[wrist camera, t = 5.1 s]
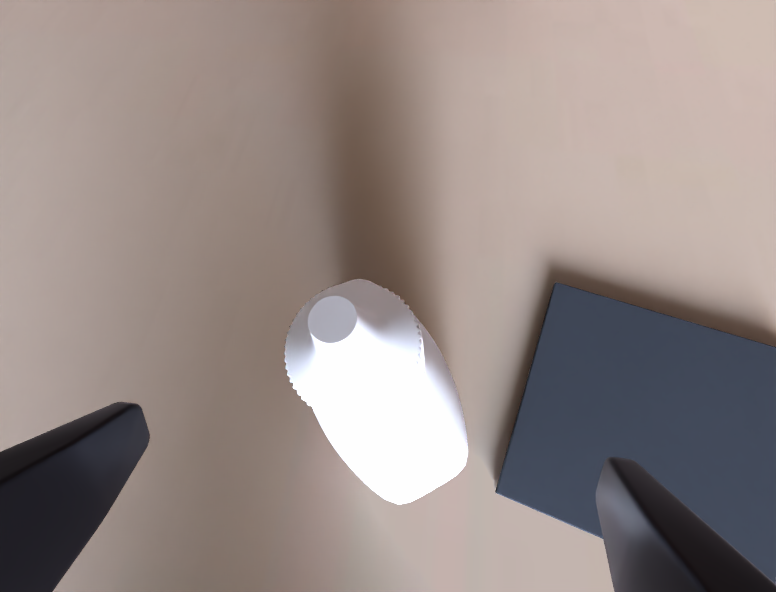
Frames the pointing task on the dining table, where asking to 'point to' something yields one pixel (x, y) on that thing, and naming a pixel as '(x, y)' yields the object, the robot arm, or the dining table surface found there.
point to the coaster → (647, 418)
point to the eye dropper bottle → (378, 389)
